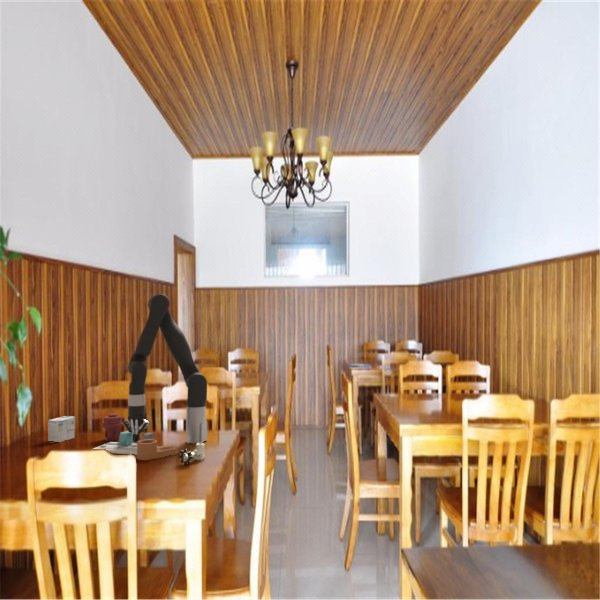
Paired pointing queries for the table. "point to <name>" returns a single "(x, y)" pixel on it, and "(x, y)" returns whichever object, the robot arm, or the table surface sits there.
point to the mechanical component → (112, 426)
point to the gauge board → (123, 449)
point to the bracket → (154, 450)
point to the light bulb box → (61, 428)
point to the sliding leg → (125, 438)
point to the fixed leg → (148, 436)
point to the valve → (193, 454)
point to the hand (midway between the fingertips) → (136, 441)
